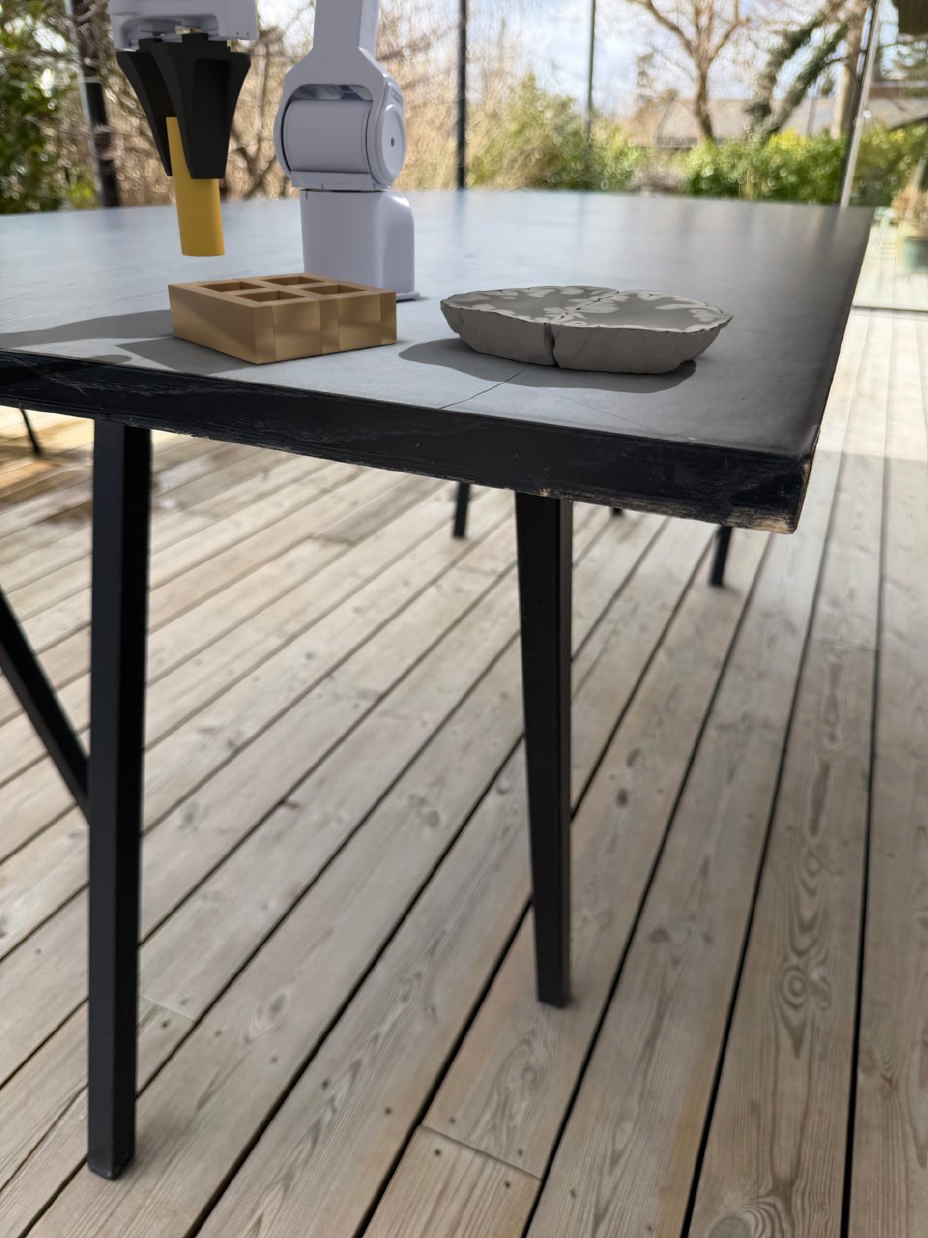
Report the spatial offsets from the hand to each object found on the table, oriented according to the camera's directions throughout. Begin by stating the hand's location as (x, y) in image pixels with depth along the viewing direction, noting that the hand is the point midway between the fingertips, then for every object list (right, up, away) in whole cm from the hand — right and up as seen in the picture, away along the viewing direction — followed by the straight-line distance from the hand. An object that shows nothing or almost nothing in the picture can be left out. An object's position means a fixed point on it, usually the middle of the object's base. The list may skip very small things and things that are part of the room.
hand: (195, 177), depth 59 cm
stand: (+5, -8, +6) cm, 12 cm away
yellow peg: (0, -4, +2) cm, 5 cm away
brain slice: (+26, -9, +6) cm, 28 cm away
